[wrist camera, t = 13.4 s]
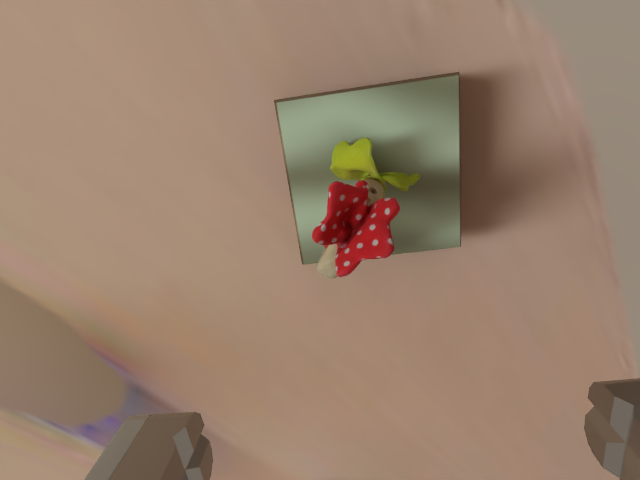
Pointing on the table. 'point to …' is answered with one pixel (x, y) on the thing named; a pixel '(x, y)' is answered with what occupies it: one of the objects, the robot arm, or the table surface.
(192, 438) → the robot arm
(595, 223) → the table surface
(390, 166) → the sage green square tile
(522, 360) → the table surface
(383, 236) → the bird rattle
